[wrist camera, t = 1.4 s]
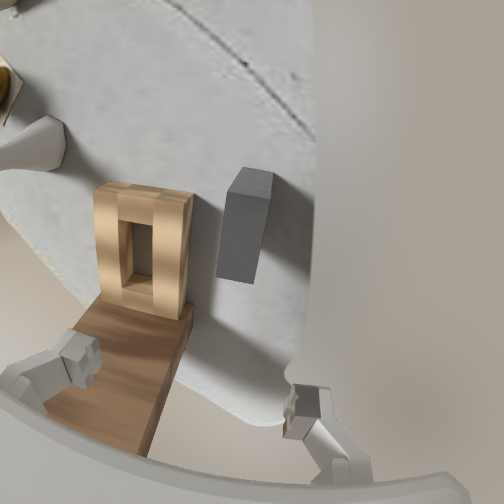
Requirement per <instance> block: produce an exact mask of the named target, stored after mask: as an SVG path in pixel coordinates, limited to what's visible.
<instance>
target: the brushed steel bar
mask: <svg viewBox="0 0 504 504" xmlns="http://www.w3.org/2000/svg"><path fill="white" fill-rule="evenodd" d="M272 181H273V172H269V171H263V170H258V169H252V168H247V167H242V169H241V170H240V172H239V174H238V175H237V177H236V178H235V180H234V181H233V183H232V185H231V186H230V188H229V189H228V191H227V196H226V203H225V210H224V218H223V225H222V232H221V240H220V248H219V255H218V263H217V271H216V277H218V278H223V279H228V280H233V281H238V282H243V283H249V284H254V279H255V274H256V269H257V264H258V259H259V254H260V249H261V244H262V239H263V234H264V229H265V224H266V219H267V214H268V209H269V204H270V199H271V190H272Z"/></svg>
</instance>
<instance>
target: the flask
mask: <svg viewBox="0 0 504 504" xmlns="http://www.w3.org/2000/svg"><path fill="white" fill-rule="evenodd" d="M65 149H66V140H65V135H64V129H63V123H62V122H60V121H58V120H56V119H55V118H53V117H51V116H49V115H47V116H45V117H42V118H40V119H38V120H36V121H34V122H33V123H31V124H30V125H29V126H27V127H26V128H25V129H24V130H23V131H21V132H20V133H19V134H18V135H16V136H15V137H14V138H13V139H11V140H10V141H9V142H8V143H6V144H4V145H3V146H0V171H2V170H7V169H26V170H34V171H42V172H46V171H49V170H53V169H56V168H59V167H60V166H61V163H62V159H63V156H64V152H65Z"/></svg>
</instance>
